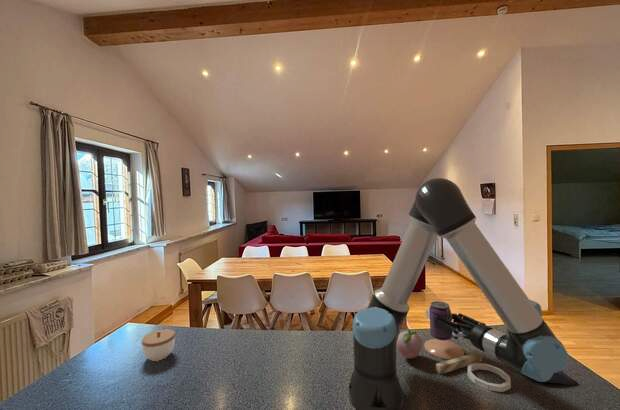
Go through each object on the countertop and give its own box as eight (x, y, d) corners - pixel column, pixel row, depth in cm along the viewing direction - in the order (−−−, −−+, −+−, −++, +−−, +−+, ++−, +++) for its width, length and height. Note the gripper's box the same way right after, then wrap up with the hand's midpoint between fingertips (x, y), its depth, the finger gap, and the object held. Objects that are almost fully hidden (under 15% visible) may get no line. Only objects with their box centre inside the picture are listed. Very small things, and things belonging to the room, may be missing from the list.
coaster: (454, 364, 93) (454, 363, 93) (417, 348, 103) (417, 347, 103) (469, 350, 101) (469, 348, 101) (434, 336, 111) (434, 335, 111)
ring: (504, 397, 77) (504, 392, 77) (460, 377, 86) (460, 372, 86) (516, 380, 84) (516, 375, 84) (474, 363, 93) (474, 358, 93)
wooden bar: (439, 374, 88) (439, 366, 88) (436, 371, 89) (435, 363, 89) (481, 361, 94) (481, 354, 94) (477, 359, 95) (477, 351, 95)
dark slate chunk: (530, 388, 81) (530, 372, 81) (485, 347, 103) (485, 334, 103) (584, 388, 81) (584, 372, 81) (527, 347, 103) (527, 334, 103)
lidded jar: (174, 361, 99) (173, 335, 99) (139, 368, 95) (138, 341, 95) (176, 346, 109) (175, 322, 109) (145, 352, 105) (144, 328, 105)
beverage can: (447, 332, 105) (446, 300, 104) (455, 342, 98) (453, 308, 97) (428, 332, 105) (426, 300, 105) (433, 341, 98) (432, 308, 98)
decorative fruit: (400, 348, 103) (400, 321, 103) (424, 354, 99) (423, 327, 98) (392, 361, 96) (392, 332, 95) (417, 368, 91) (417, 338, 91)
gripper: (468, 359, 82) (413, 325, 103) (510, 346, 87) (450, 317, 109) (467, 334, 81) (413, 305, 103) (510, 323, 87) (450, 298, 109)
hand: (432, 311), depth 106 cm, fingers closed on beverage can, 5 cm apart
